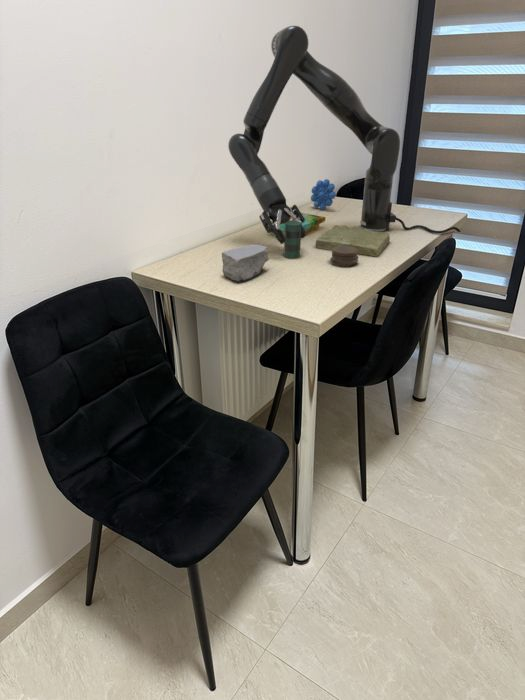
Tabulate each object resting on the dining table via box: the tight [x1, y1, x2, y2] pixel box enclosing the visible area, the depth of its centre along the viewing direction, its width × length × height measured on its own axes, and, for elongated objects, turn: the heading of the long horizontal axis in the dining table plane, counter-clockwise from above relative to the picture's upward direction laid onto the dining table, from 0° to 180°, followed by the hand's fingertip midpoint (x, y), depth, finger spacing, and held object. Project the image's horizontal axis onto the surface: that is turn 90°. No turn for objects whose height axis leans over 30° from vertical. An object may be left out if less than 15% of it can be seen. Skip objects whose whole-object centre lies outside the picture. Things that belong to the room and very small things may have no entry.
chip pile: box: [329, 246, 359, 268], centre depth 150 cm, size 8×8×4 cm
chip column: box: [283, 221, 302, 259], centre depth 154 cm, size 5×5×10 cm
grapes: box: [310, 178, 337, 211], centre depth 205 cm, size 12×7×12 cm, turn 49°
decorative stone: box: [221, 244, 269, 283], centre depth 141 cm, size 15×7×10 cm
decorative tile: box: [315, 225, 391, 257], centre depth 166 cm, size 19×20×4 cm
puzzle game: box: [268, 212, 327, 237], centre depth 179 cm, size 12×5×20 cm
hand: (294, 239), depth 154 cm, fingers open, 8 cm apart
